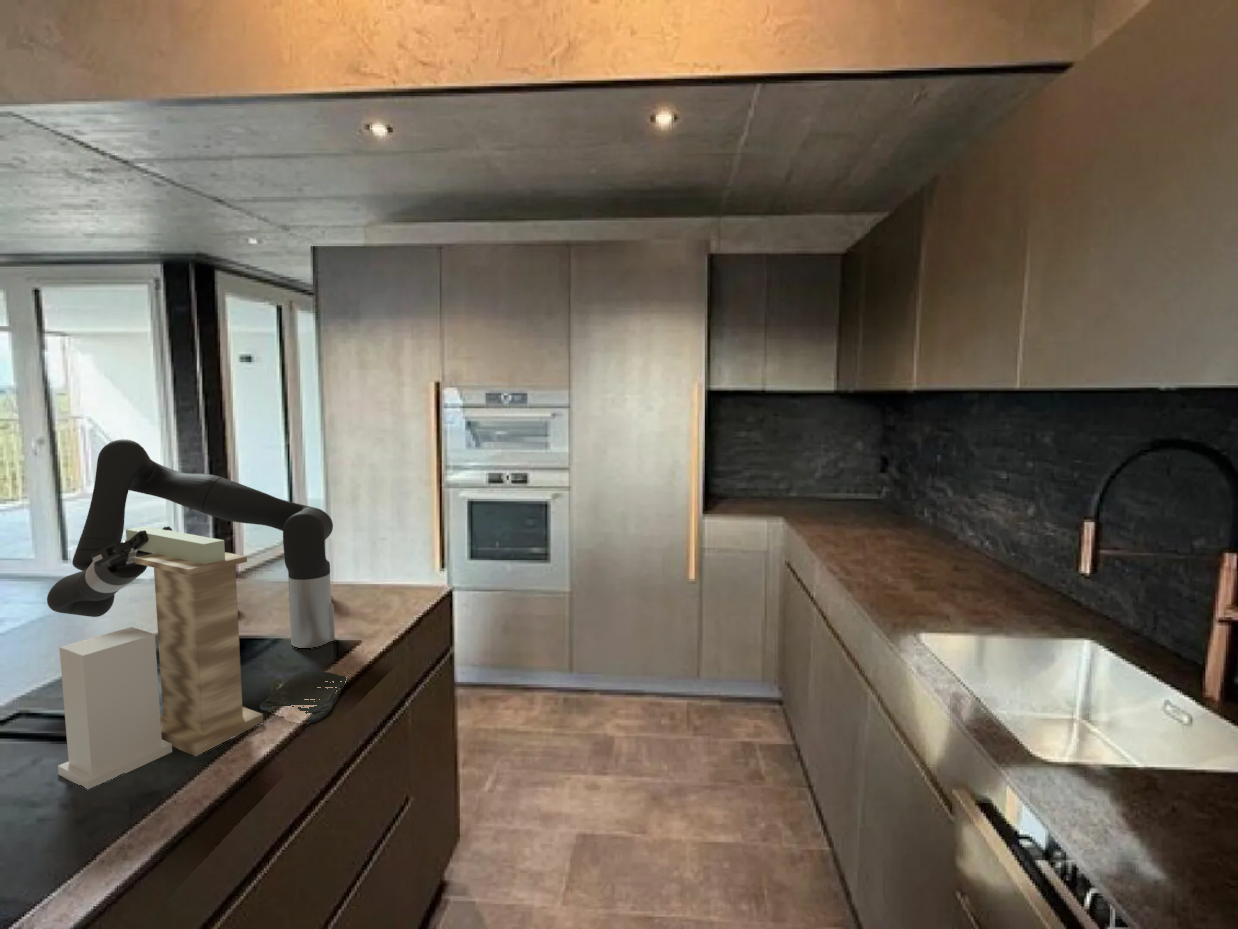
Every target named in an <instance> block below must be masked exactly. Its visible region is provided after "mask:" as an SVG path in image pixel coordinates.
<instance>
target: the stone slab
mask: <svg viewBox="0 0 1238 929" xmlns="http://www.w3.org/2000/svg"><path fill="white" fill-rule="evenodd" d="M337 674H338V673H333V672H329V671H328V672H327V671H321V670H313V669H310V670H309V669H308V670H303V671H298V672H295V673H294V674H292V676H291V677H290V678H289V679H287V680H286V681H285V682H283V684H282V685H281V686H280V687H278V688H277V689H276V690H275V692H274V691H273V692H274V693H273V694H272V693H271V694H272V695H271V694H270V695H271V696H270V695H269V696H268V697H267V698H266V699H264V700H265V701H264V700H263V701H264V702H263V701H262V702H260V704H259V705H262V707H268V708H269V707H272V706H273V707H274V706H291V705H317V706H314V707H309V709H308V708H301V707H298V709H299V710H300V711H306V712H305V713H306V714H307V713H312V714H313V716H311V717H310V719H308V723H307V725H309V724H312V723H316V722H318V721H320V720H322V719H323V718H325V717H326V716H327V715H328V714H329V713H330V711H331V710H332V709H333V708H334V705H335V703H336V702H337V701H338V699H339V698H340V695H341V693H342V691H343V690H342V687H343V685H344V684H345V681H346V679H347V678H348V677H347V676H346V675H343V676H341V674H339V675H337ZM345 676H346V677H347V678H346V677H345ZM347 680H348V679H347ZM325 681H328V682H325ZM332 681H334V683H333V682H332ZM340 681H342V682H340ZM330 682H331V683H330ZM317 687H321V688H317ZM325 687H333V688H328V689H327V688H325ZM335 687H337V688H335ZM339 688H341V689H340V690H339V691H338V692H337V694H335V695H334V693H335V692H336V690H338V689H339ZM341 690H342V691H341ZM340 692H341V693H340ZM339 694H340V695H339ZM304 699H309V700H304ZM310 699H315V700H310ZM319 699H320V700H319ZM314 701H315V702H314ZM292 707H294V706H292ZM303 707H304V706H303ZM307 711H308V712H307ZM307 725H306V726H307Z"/></svg>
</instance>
